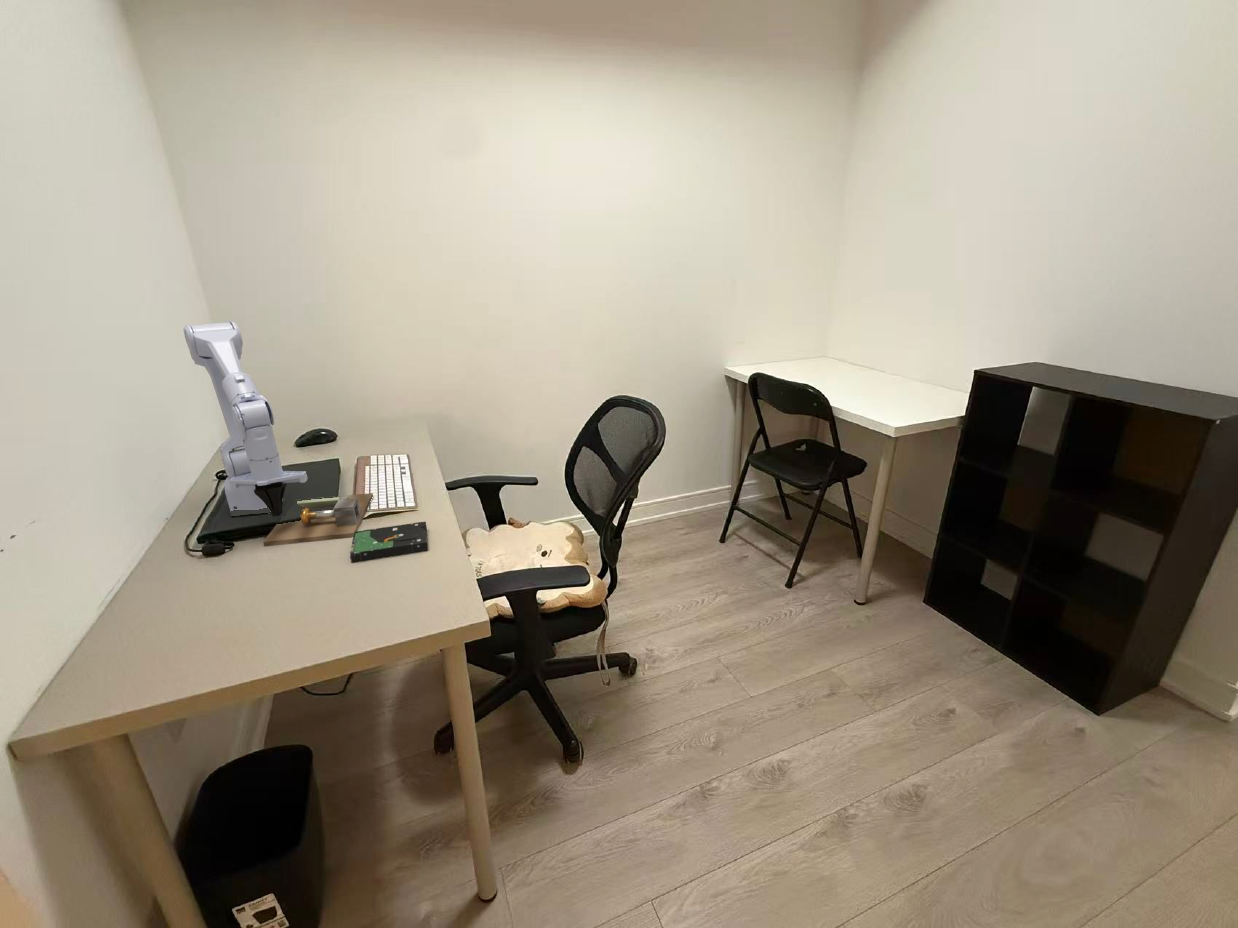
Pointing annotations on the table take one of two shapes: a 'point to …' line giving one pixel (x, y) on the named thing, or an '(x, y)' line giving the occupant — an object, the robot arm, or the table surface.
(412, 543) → the disk drive
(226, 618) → the table surface
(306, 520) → the pin
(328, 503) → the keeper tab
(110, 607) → the table surface
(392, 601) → the table surface
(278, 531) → the board
